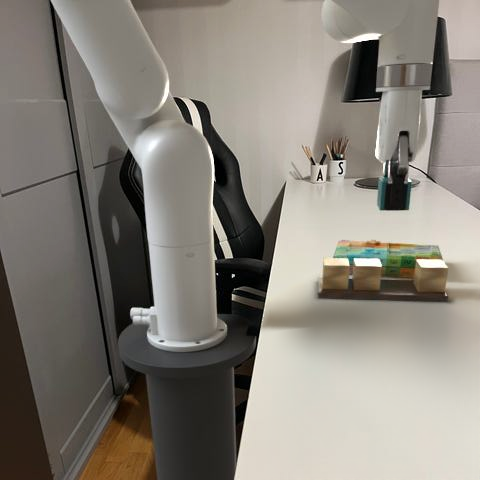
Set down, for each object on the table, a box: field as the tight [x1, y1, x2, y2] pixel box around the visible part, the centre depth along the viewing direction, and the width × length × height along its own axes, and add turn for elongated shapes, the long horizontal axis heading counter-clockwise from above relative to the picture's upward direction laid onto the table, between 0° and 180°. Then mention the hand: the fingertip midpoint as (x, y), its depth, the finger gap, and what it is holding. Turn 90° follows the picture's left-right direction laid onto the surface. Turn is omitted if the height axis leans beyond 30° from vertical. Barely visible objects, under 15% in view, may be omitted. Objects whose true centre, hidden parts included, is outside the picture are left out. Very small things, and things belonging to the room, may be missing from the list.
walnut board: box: [317, 277, 449, 303], centre depth 89 cm, size 22×8×1 cm, turn 82°
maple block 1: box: [321, 257, 350, 290], centre depth 89 cm, size 4×4×4 cm
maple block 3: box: [413, 259, 449, 292], centre depth 86 cm, size 4×4×4 cm
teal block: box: [376, 177, 413, 212], centre depth 79 cm, size 4×4×4 cm
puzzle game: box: [332, 239, 445, 279], centre depth 99 cm, size 12×5×20 cm
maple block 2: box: [351, 259, 382, 291], centre depth 88 cm, size 4×4×4 cm
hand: (392, 205), depth 80 cm, fingers closed on teal block, 4 cm apart
